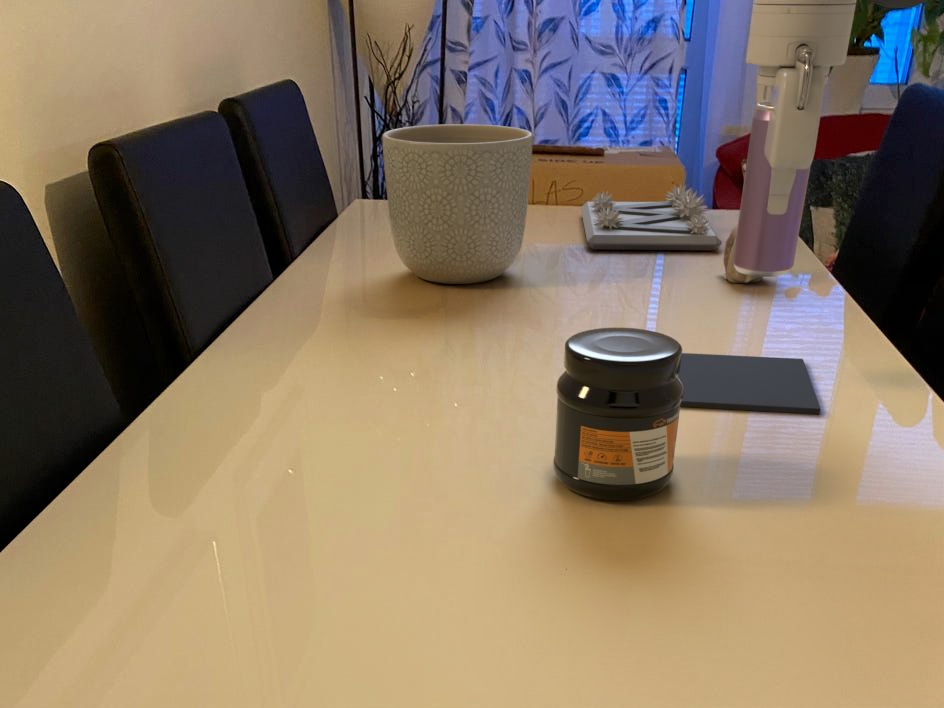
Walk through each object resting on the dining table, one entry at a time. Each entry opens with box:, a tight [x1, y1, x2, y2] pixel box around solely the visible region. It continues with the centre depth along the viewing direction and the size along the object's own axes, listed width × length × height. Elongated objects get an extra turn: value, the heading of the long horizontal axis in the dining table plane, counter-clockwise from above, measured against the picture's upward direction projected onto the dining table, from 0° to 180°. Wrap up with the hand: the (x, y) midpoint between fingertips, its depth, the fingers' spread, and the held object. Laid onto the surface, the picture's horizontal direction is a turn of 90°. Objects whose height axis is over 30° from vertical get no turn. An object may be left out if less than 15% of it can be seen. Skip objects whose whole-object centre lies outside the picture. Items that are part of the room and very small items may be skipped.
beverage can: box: [733, 101, 811, 278], centre depth 97 cm, size 6×6×15 cm
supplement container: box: [552, 327, 684, 501], centre depth 84 cm, size 10×10×12 cm
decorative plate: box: [580, 182, 723, 251], centre depth 169 cm, size 30×22×7 cm
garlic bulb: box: [722, 223, 764, 284], centre depth 142 cm, size 9×8×10 cm
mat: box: [677, 352, 821, 415], centre depth 107 cm, size 14×16×1 cm
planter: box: [382, 123, 534, 285], centre depth 142 cm, size 21×21×19 cm
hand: (772, 205), depth 97 cm, fingers closed on beverage can, 6 cm apart
